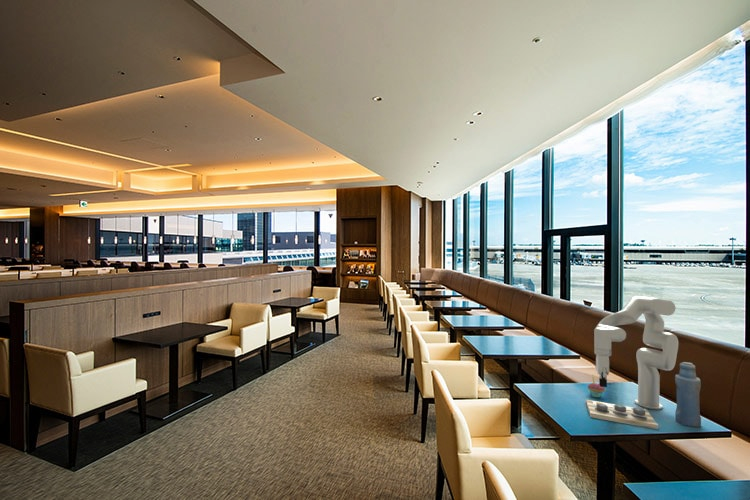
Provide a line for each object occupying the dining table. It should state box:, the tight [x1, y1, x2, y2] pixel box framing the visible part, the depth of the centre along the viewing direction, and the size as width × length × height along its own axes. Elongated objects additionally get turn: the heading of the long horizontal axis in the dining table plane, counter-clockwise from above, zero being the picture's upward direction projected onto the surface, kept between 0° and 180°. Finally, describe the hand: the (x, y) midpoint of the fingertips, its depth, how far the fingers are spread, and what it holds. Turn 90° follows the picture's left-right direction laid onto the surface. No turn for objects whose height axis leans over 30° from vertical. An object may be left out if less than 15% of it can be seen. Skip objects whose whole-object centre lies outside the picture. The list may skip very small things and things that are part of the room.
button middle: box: [614, 404, 626, 412], centre depth 184 cm, size 5×5×2 cm
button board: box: [585, 399, 659, 430], centre depth 187 cm, size 20×28×2 cm
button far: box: [596, 404, 608, 411], centre depth 187 cm, size 5×5×2 cm
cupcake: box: [587, 374, 606, 398], centre depth 213 cm, size 9×8×12 cm
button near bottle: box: [633, 407, 645, 416], centre depth 181 cm, size 5×5×2 cm
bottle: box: [674, 361, 702, 428], centre depth 180 cm, size 10×10×30 cm
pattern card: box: [592, 400, 633, 411], centre depth 192 cm, size 5×22×1 cm, turn 65°
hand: (603, 386), depth 188 cm, fingers closed
